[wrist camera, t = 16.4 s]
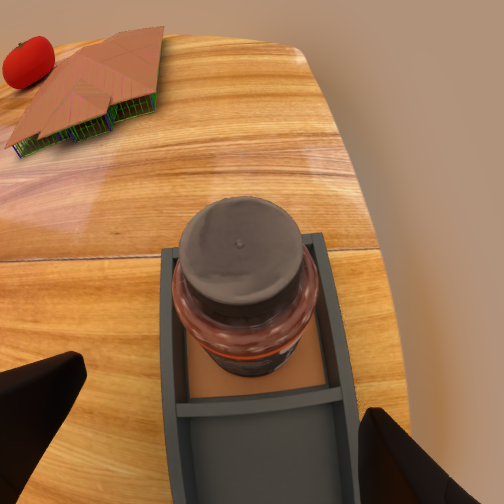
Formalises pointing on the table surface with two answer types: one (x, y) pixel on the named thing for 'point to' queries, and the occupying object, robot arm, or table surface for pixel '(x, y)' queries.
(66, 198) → the table surface
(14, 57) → the tomato
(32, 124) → the house
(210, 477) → the tray
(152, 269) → the table surface
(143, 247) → the table surface
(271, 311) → the supplement bottle
